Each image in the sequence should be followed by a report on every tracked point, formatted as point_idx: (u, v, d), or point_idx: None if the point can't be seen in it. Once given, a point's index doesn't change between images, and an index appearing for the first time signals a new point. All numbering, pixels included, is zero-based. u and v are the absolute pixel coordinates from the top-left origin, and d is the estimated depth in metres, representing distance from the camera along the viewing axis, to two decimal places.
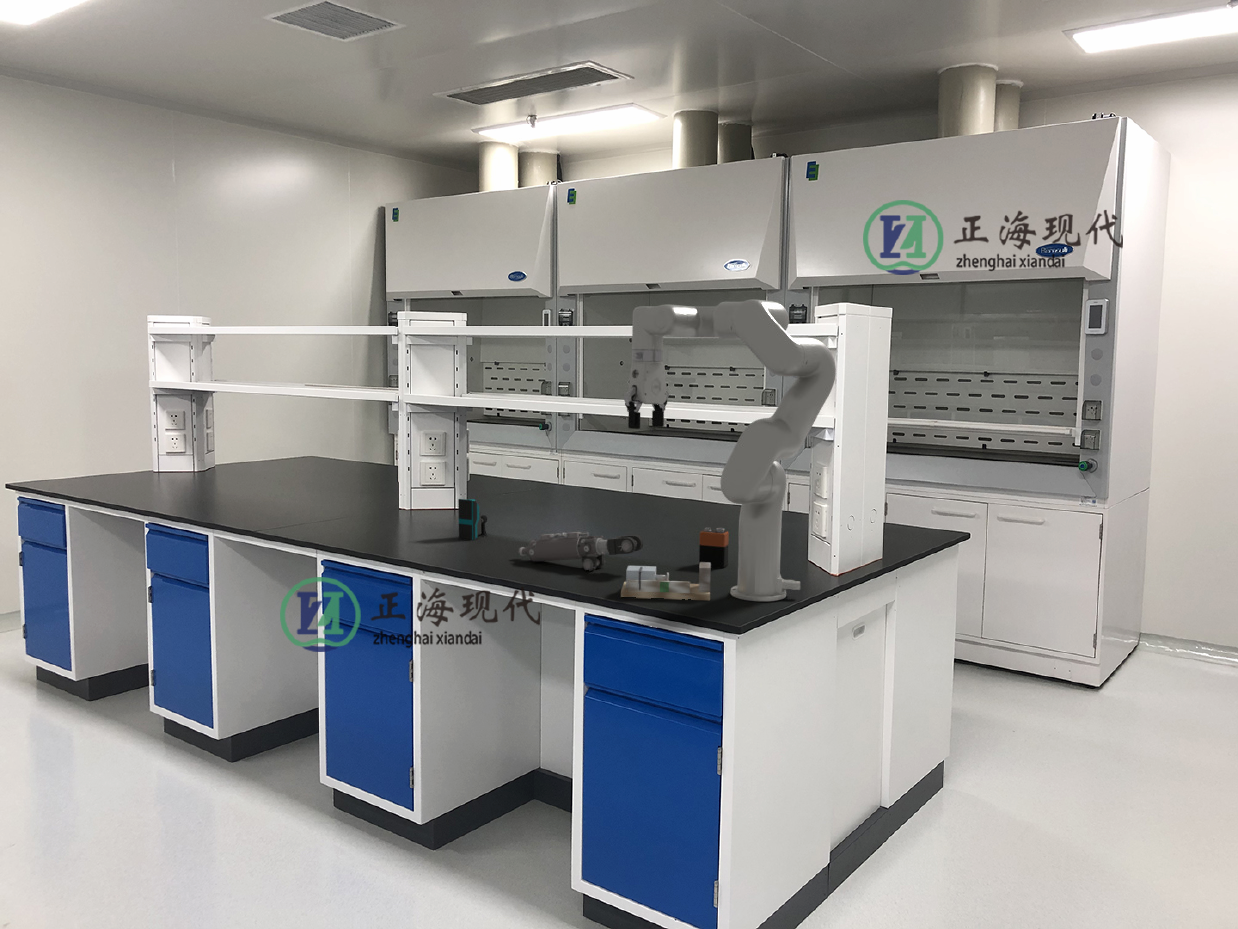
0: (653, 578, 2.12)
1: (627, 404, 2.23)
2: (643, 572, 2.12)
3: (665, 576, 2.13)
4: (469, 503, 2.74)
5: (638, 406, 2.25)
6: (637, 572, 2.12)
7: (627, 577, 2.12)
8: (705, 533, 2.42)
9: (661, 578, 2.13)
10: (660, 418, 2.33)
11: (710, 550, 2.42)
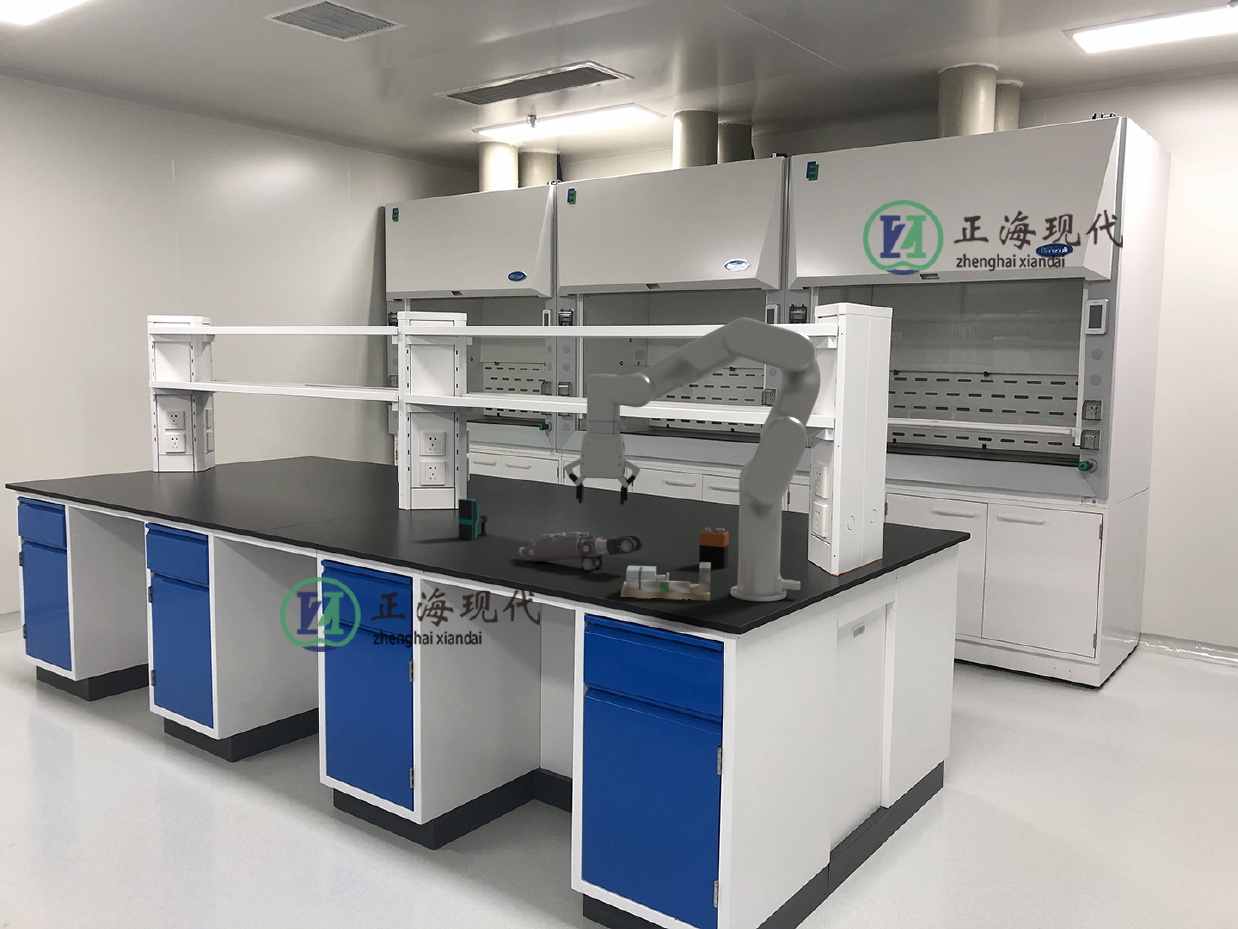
0: (653, 578, 2.12)
1: (635, 478, 2.12)
2: (643, 572, 2.12)
3: (665, 576, 2.13)
4: (469, 503, 2.74)
5: None
6: (637, 572, 2.12)
7: (627, 577, 2.12)
8: (705, 533, 2.42)
9: (661, 578, 2.13)
10: (583, 492, 2.15)
11: (710, 550, 2.42)
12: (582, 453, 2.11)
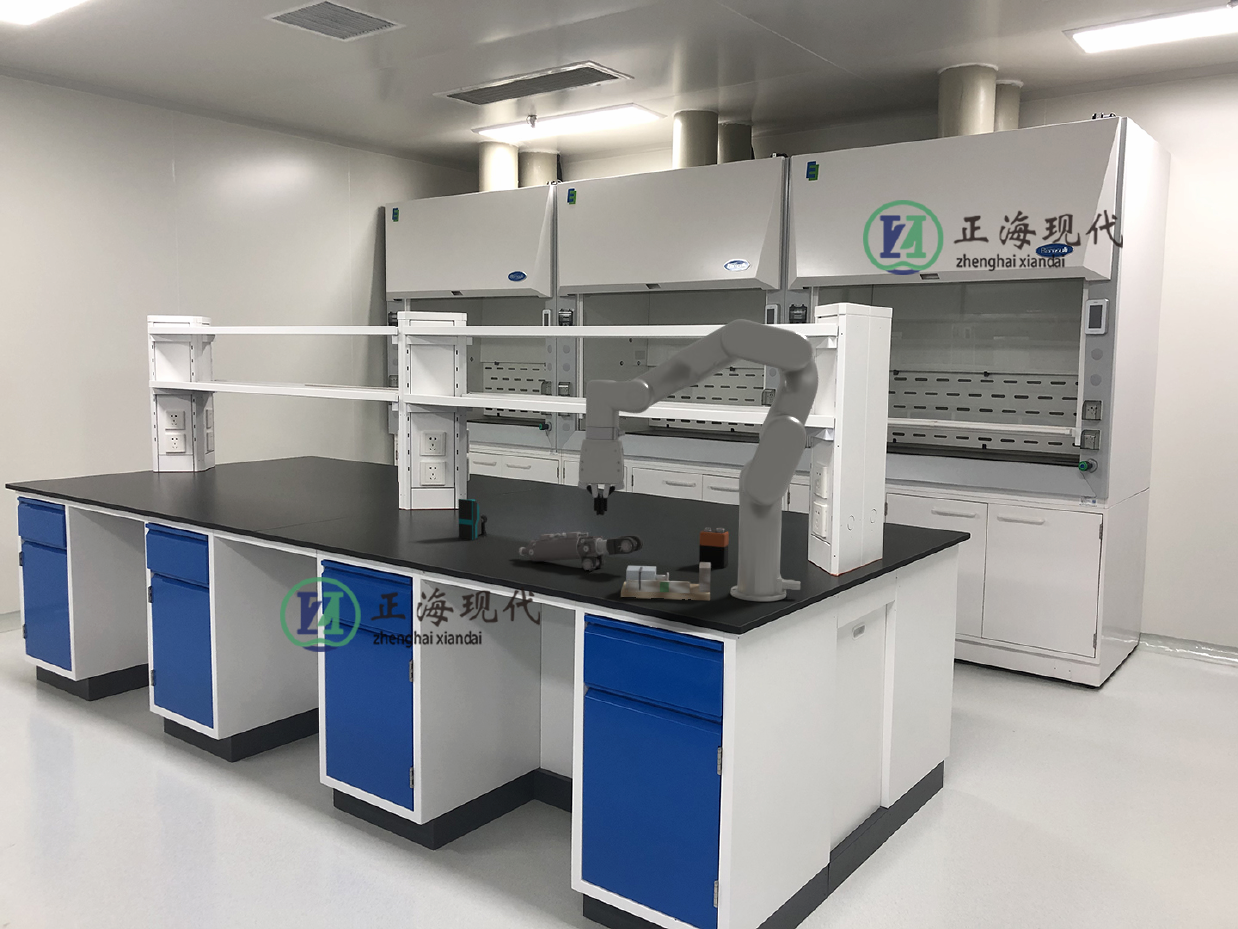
0: (653, 578, 2.12)
1: (613, 490, 2.13)
2: (643, 572, 2.12)
3: (665, 576, 2.13)
4: (469, 503, 2.74)
5: None
6: (637, 572, 2.12)
7: (627, 577, 2.12)
8: (705, 533, 2.42)
9: (661, 578, 2.13)
10: None
11: (710, 550, 2.42)
12: (581, 459, 2.11)
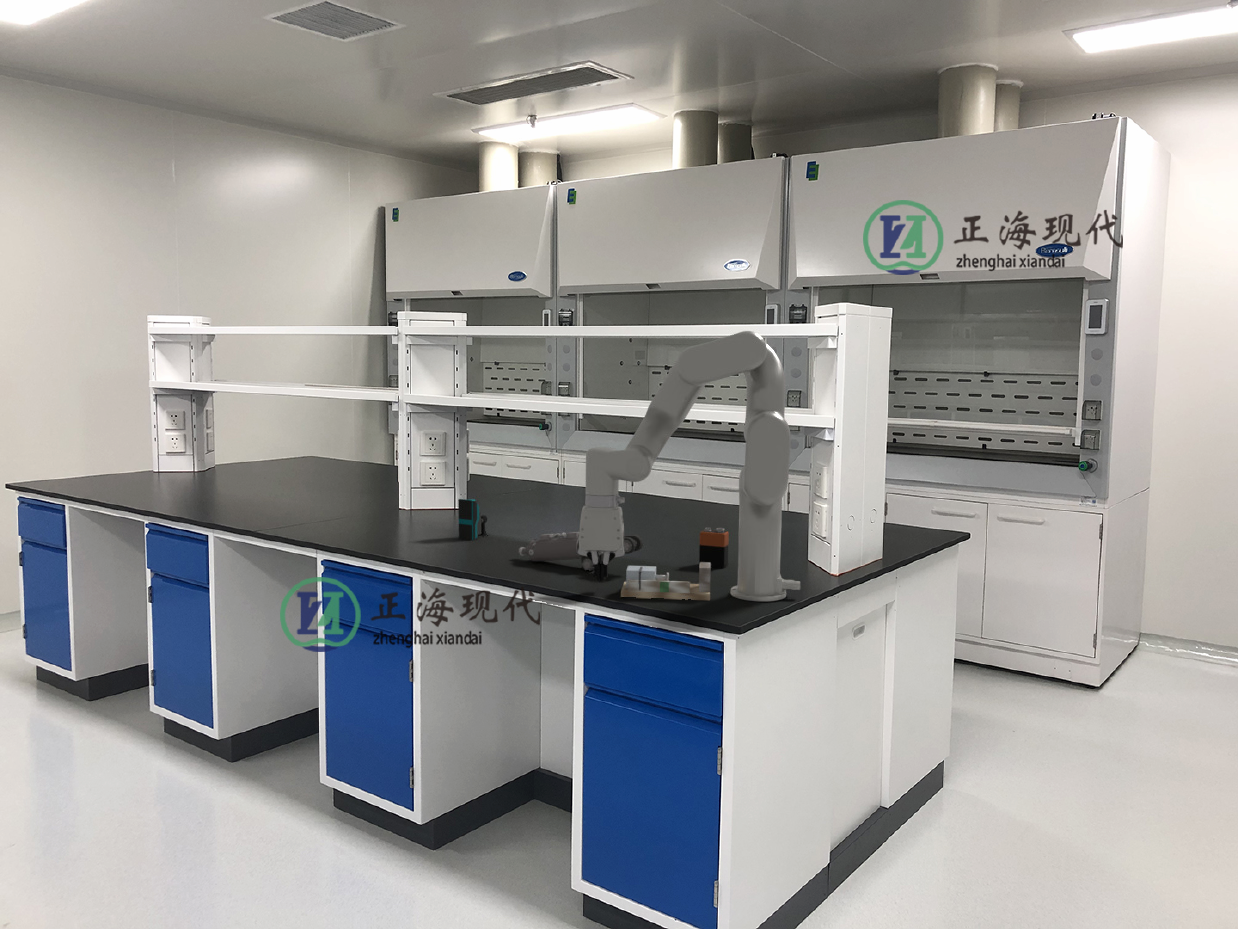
0: (653, 578, 2.12)
1: None
2: (643, 572, 2.12)
3: (665, 576, 2.13)
4: (469, 503, 2.74)
5: None
6: (637, 572, 2.12)
7: (627, 577, 2.12)
8: (705, 533, 2.42)
9: (661, 578, 2.13)
10: None
11: (710, 550, 2.42)
12: (581, 526, 2.12)
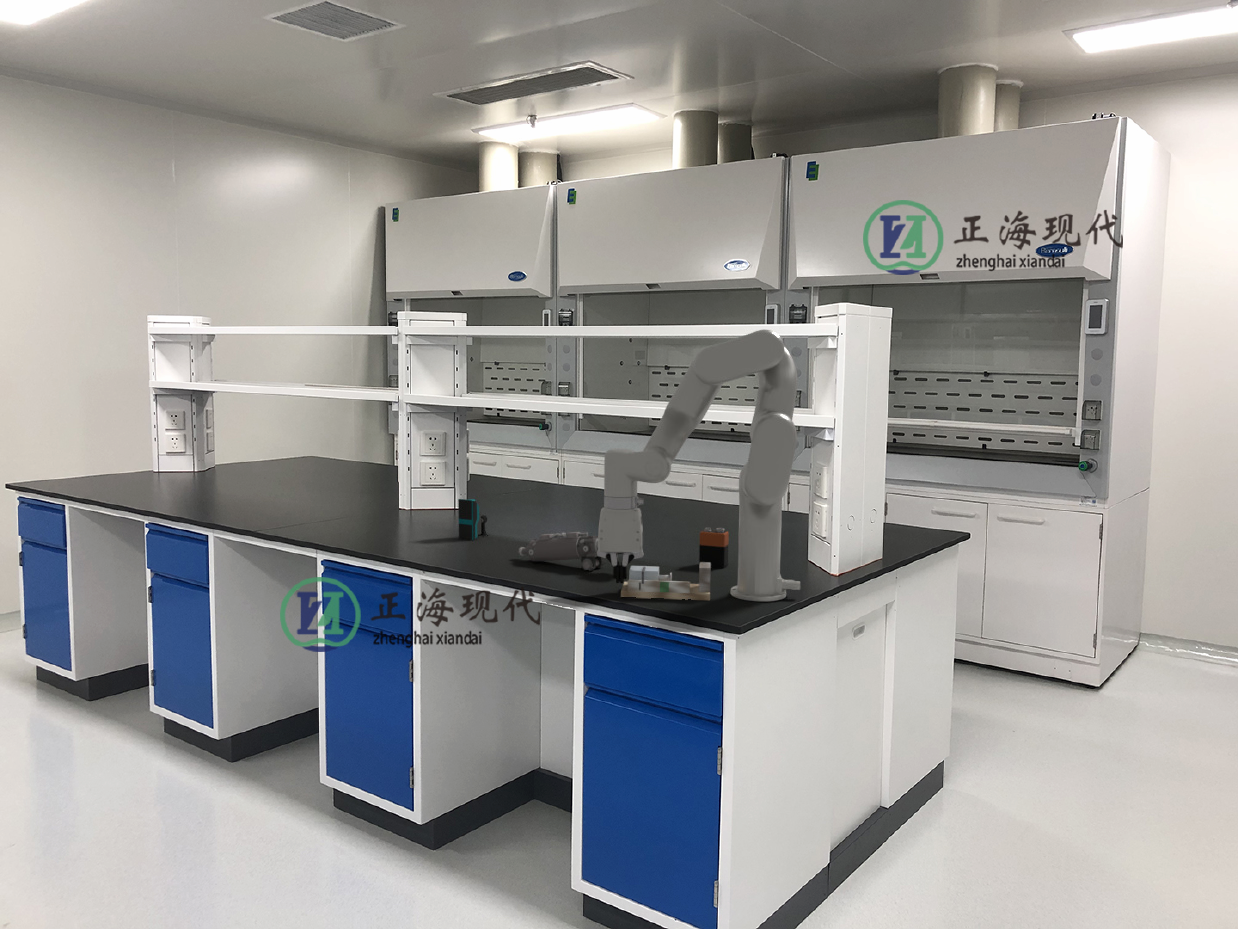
0: (656, 578, 2.12)
1: None
2: (646, 572, 2.12)
3: (668, 576, 2.13)
4: (469, 503, 2.74)
5: None
6: (640, 572, 2.12)
7: (630, 577, 2.12)
8: (705, 533, 2.42)
9: (664, 578, 2.13)
10: None
11: (710, 550, 2.42)
12: (600, 528, 2.12)
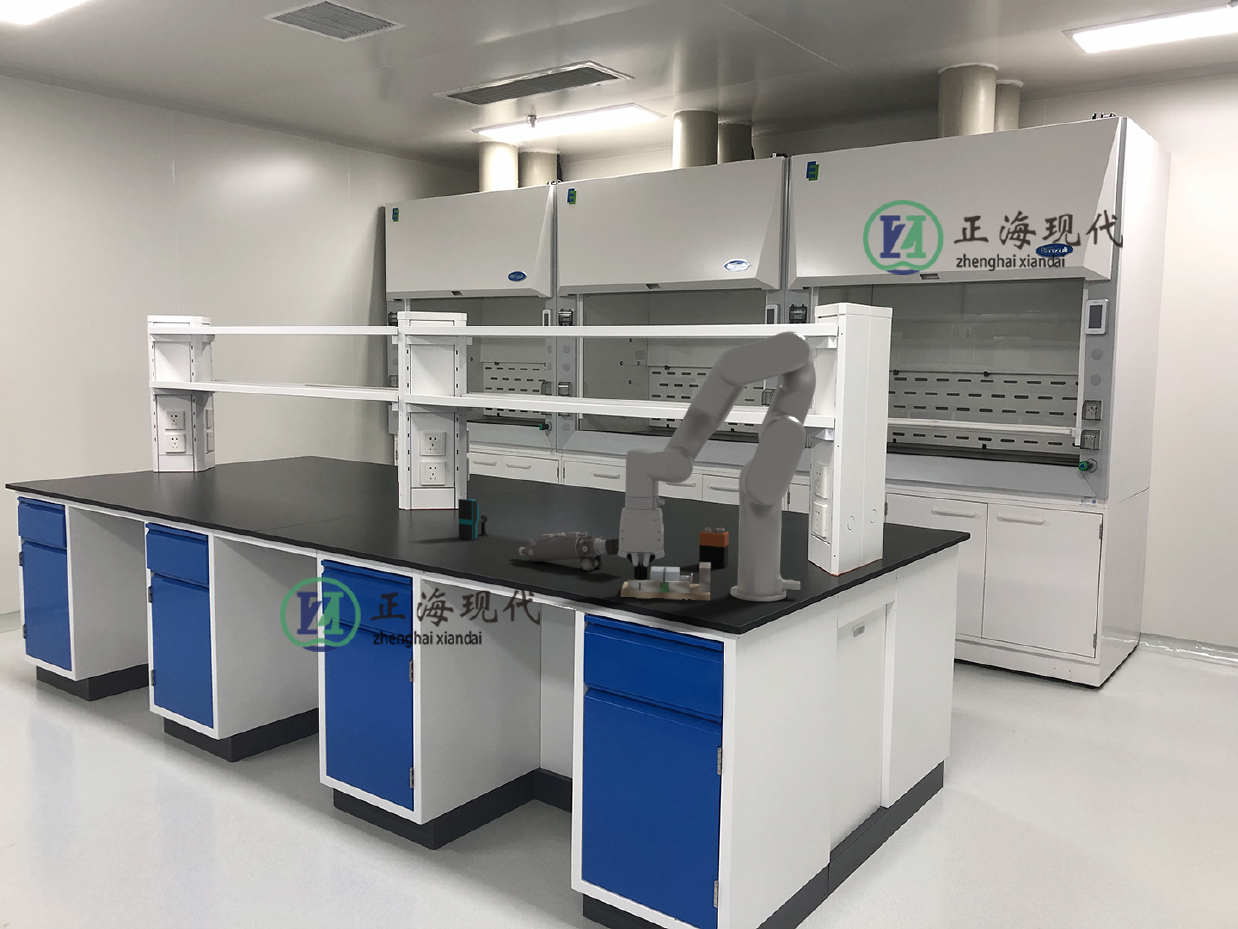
0: (677, 578, 2.11)
1: None
2: (667, 573, 2.11)
3: (689, 577, 2.13)
4: (469, 503, 2.74)
5: None
6: (661, 573, 2.11)
7: (651, 578, 2.12)
8: (705, 533, 2.42)
9: (685, 579, 2.13)
10: None
11: (710, 550, 2.42)
12: (621, 528, 2.12)
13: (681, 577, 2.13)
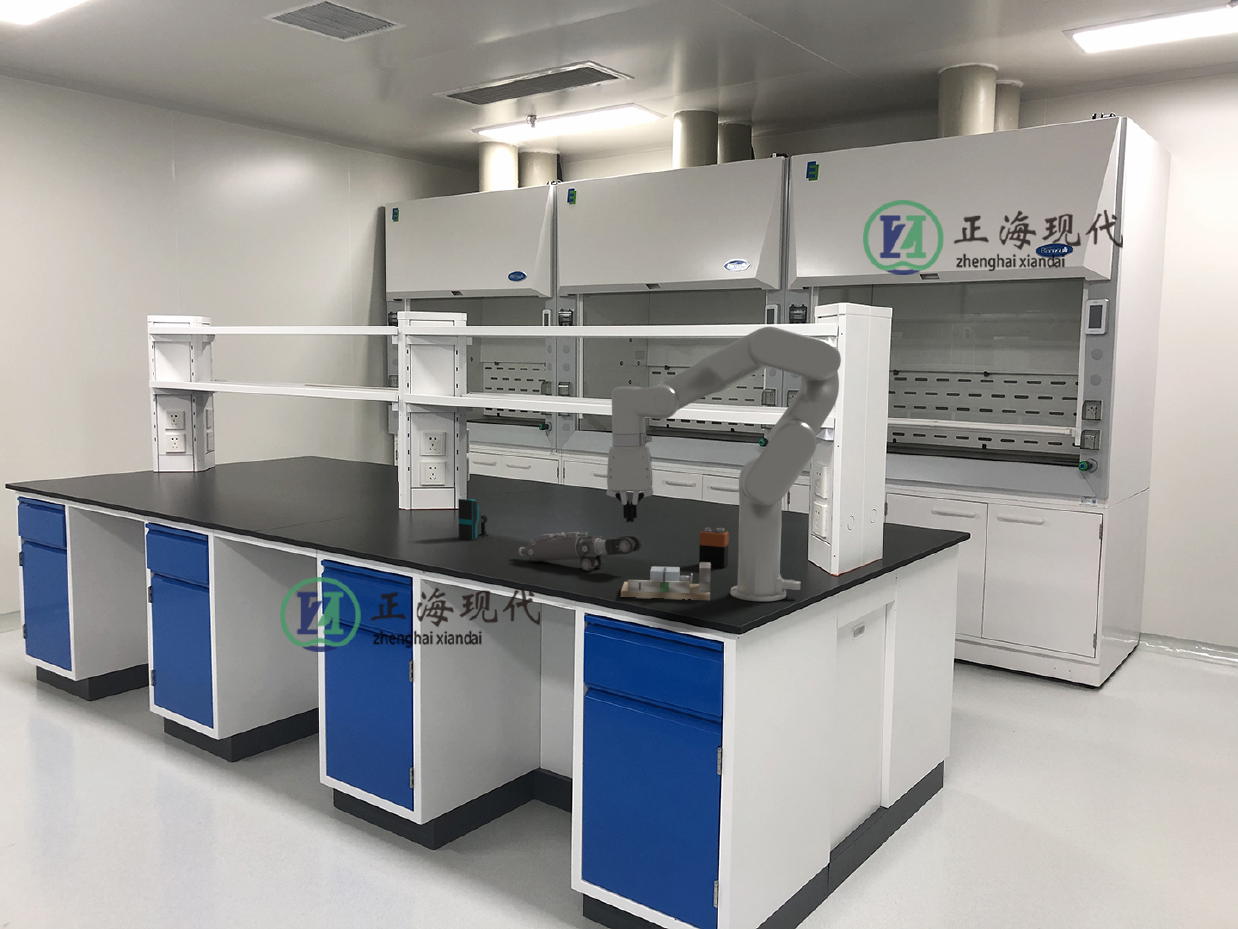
0: (677, 578, 2.11)
1: (642, 497, 2.12)
2: (667, 573, 2.11)
3: (689, 577, 2.13)
4: (469, 503, 2.74)
5: None
6: (661, 573, 2.11)
7: (651, 578, 2.12)
8: (705, 533, 2.42)
9: (685, 579, 2.13)
10: None
11: (710, 550, 2.42)
12: (609, 467, 2.10)
13: (681, 577, 2.13)
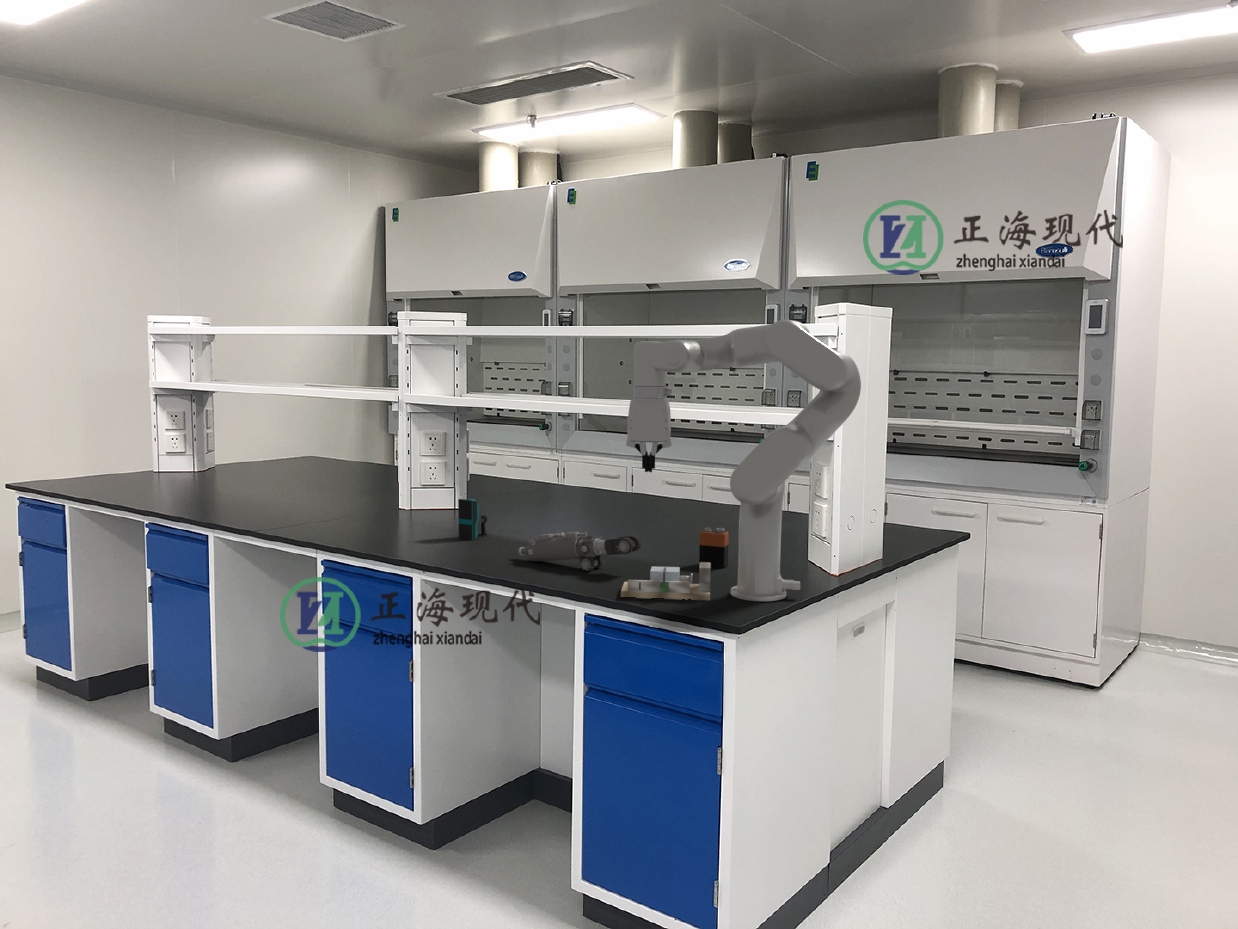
0: (677, 578, 2.11)
1: (661, 448, 2.20)
2: (667, 573, 2.11)
3: (689, 577, 2.13)
4: (469, 503, 2.74)
5: None
6: (661, 573, 2.11)
7: (651, 578, 2.12)
8: (705, 533, 2.42)
9: (685, 579, 2.13)
10: (648, 462, 2.22)
11: (710, 550, 2.42)
12: (630, 418, 2.18)
13: (681, 577, 2.13)
